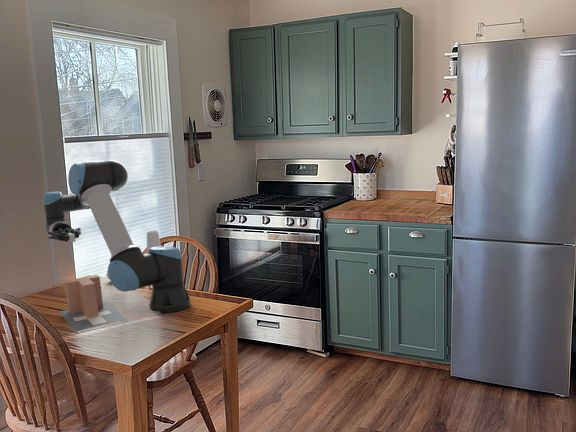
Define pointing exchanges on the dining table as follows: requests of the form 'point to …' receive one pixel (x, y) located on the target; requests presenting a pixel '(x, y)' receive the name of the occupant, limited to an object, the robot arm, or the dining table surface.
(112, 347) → the dining table surface
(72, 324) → the slate board
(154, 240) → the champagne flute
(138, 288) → the robot arm
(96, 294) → the t block
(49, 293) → the dining table surface
